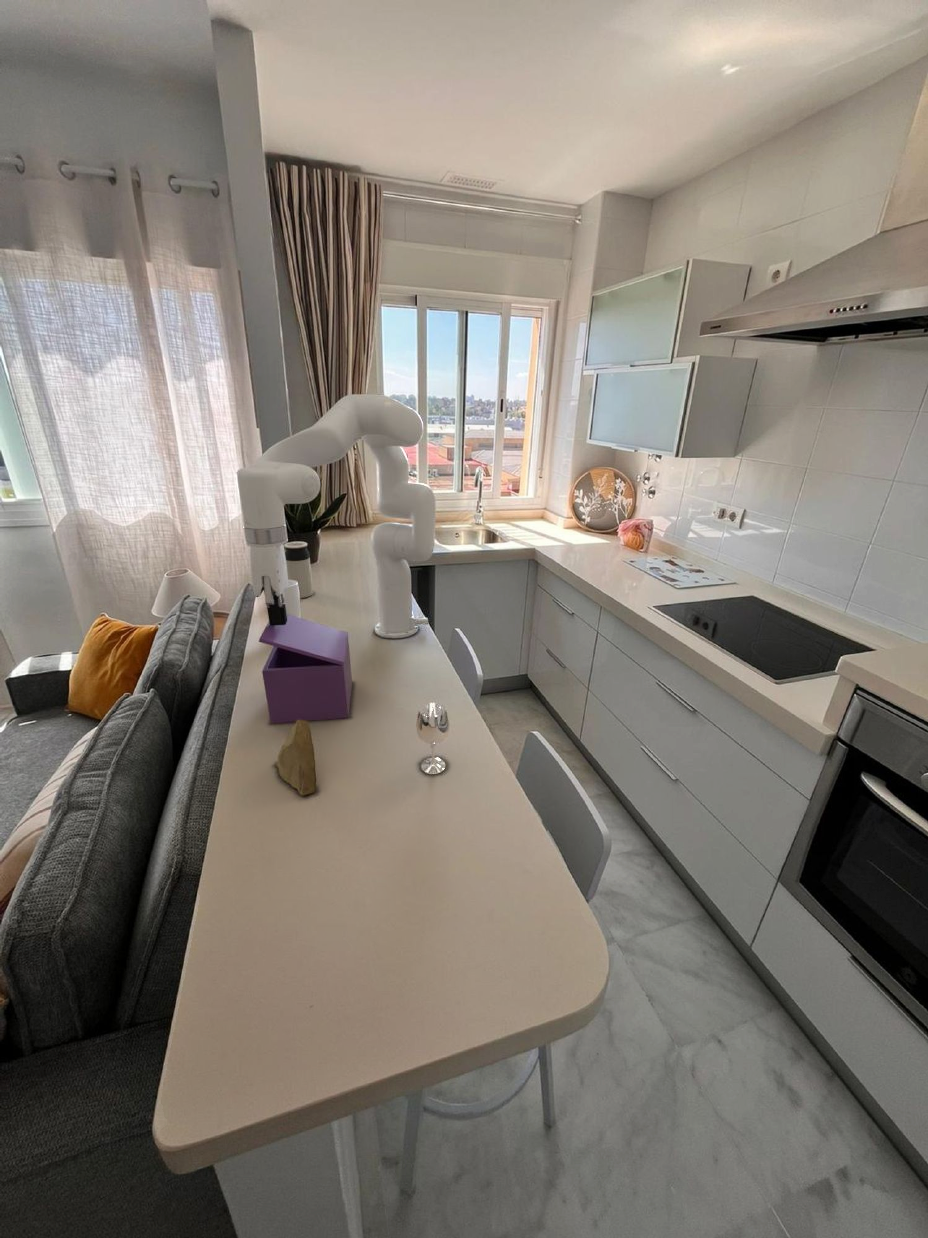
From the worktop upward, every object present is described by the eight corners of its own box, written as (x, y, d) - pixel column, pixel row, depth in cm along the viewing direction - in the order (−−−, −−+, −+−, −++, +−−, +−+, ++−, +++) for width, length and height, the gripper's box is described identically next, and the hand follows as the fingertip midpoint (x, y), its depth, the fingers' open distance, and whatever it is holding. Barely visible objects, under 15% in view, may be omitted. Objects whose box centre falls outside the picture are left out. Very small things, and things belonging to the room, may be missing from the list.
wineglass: (453, 759, 91) (453, 704, 87) (442, 779, 86) (441, 722, 82) (424, 753, 93) (423, 698, 89) (412, 772, 88) (410, 715, 83)
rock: (330, 785, 81) (336, 741, 90) (292, 757, 77) (301, 715, 86) (282, 816, 84) (292, 770, 92) (242, 791, 80) (257, 746, 88)
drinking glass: (296, 638, 139) (290, 588, 134) (274, 636, 141) (267, 586, 135) (308, 629, 146) (302, 580, 140) (287, 627, 147) (280, 578, 141)
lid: (258, 641, 94) (259, 638, 94) (273, 613, 108) (274, 610, 107) (342, 665, 99) (343, 662, 99) (347, 635, 112) (348, 632, 112)
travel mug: (309, 598, 169) (303, 547, 162) (286, 598, 169) (279, 546, 162) (316, 590, 176) (311, 541, 170) (294, 590, 177) (287, 541, 170)
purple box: (270, 723, 101) (261, 670, 97) (283, 687, 115) (276, 639, 110) (348, 718, 104) (343, 665, 99) (352, 683, 117) (348, 635, 112)
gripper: (254, 527, 100) (267, 611, 107) (234, 544, 87) (250, 640, 94) (293, 526, 101) (303, 609, 108) (279, 543, 88) (291, 638, 95)
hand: (278, 623), depth 101 cm, fingers closed
